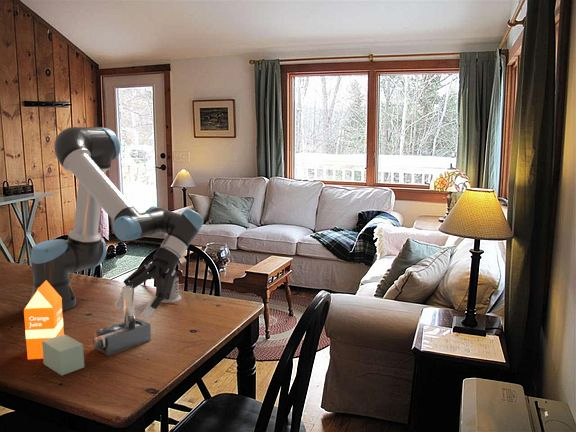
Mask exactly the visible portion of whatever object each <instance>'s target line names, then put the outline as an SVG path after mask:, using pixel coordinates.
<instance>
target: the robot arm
mask: <svg viewBox="0 0 576 432" xmlns="http://www.w3.org/2000/svg"><path fill="white" fill-rule="evenodd" d="M53 148H54V155H55V156H56V159H57V161H58V163H59V164H60V165H61V166H62V168H63V170H65V171H67V172H69V173H70V172H71V173H72V174H73V175H74V176H75V178H76V179H77V181H78V183H77V184H78V186H77V194H76V203H75V212H74V219H73V221H74V222H73V229H72V230H70V231H69V232H68V235H67V240H66V239H61V238H59V239H58V238H57V239H51V240H49V239H48V240H44V241H41V242H39V243H37V244H35V245H34V246H33V247H32V248H31V254H30V255H31V256H30V261H31V268H32V269H31V270H32V281H33V288H32V293H31V296H30V300H31V299H32V297H33V296H34V294H35V293H36V291H37V289H38V288H39V287H40V286H41V285H42V284H43V283H44V282H45V281H46V280H47V282H48V283H49V284H50V285H51V286H52V287H53V289H54V290H55V291H56V292H57V293H58V294H59V295H60V297H61V298H62V312H65V311H68V310H70V309H71V310H72V309H73V308H75V307H76V305H77V298H76V297H77V296H76V295H75V293H74V291H73V288H72V286H71V281H70V275H71V274H74V273H77V272H81V271H85V270H89V269H93V268H95V267H97V266H99V265H101V264H102V263H103V262H104V260H105V259H106V256H107V249H108V248H107V246H106V242H105V240H104V239H103V238H102V235H101V233H100V231H99V228H100V227H99V226H100V218H101V209H103V211H104V212H105V213H106V214H107V216H109V218H111V220H112V221H113V225H112V230H113V232H114V235H115V237H116V238H117V239H118V240H120V241H124V242H125V241H126V242H127V241H128V242H129V241H135V240H138V239H141V238H145V237H149V236H153V235H158V234H168V236H167V237H164V240H162V243H160V247H158V249H156V251H155V252H154V254H153V257H152V258H153V261H152V262H149V260H145V261H144V262H143V263H142V264H141V266H140V267H139V266H138V268H136V270H135V271H133V272H132V273H131V274H130V275H128V276H127V277H126V278H125V279H124V280H123V284H124V285H125V286H134V289H135V288H137V287H139V286H140V285H142V284H143V283H145V282H146V281H148V280H156V285H155V286H156V290H155V291H156V292H155V294H154V295H152V297H150V300H149V302H148V303H147V305H146V306H145V308H144V309H143V311H142V312H141V313H140V315H141V316H142V317H143V318H144V319H146V320H150V318H151V316H152V314H153V313H154V312H155V310H157V308H158V307H159V306H160V304H161V303H162V302H161V301H162V300H164V299H166V300H168V299H169V298H170V294H171V290H172V286H173V281H174V278H175V276H177V275H178V271H176V270H175V268H176V267H177V266H178V264H179V262H180V259H182V258H183V255H184V254H185V253H186V252H187V249H188V248H189V247H190V245H191V243H192V242H193V241H194V239H195V237H197V236H198V233H199V232H200V230H201V228H202V226H203V225H204V218H203V216H202V215H201V214H200V213H198V212H196V211H195V210H193V209H191V208H188V209H187V208H186V209H184V211H183V212H182V213H177V212H174V211H171V210H168V209H165V208H163V207H158V206H150V207H149V208H148V209H146V210H145V212H139V211H138V210H137V208H135V207H134V205H133V204H131V202H130V201H129V200H128V199H127V197H125V195H124V194H123V193H122V191H120V190H119V188H118V187H117V186H116V185H115V184H114V182H112V181H111V179H110V178H109V177H108V176H107V175H106V173H107V171H108V170H110V169H111V167H112V161H114V160H116V159H117V158H118V157H119V155H120V153H121V143H120V140H119V138H118V137H117V134H116V133H115V131H113V130H112V129H110V128H107V127H101V126H92V127H91V126H88V127H86V126H81V127H80V126H70V127H67V128H64V129H63V130H62V131H60V132H59V133H58V135H57V136H56V138H55V140H54V147H53ZM176 274H177V275H176ZM114 306H116V307H117V308H118V309H121V310H122V309H123V290H122V291H121V292H120V295H119V297H118V298H117V299H116V300H115V302H114Z"/></svg>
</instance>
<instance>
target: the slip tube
mask: <svg viewBox="0 0 576 432" xmlns="http://www.w3.org/2000/svg"><path fill="white" fill-rule="evenodd" d="M122 291H123V307H122V309H123V310H122V311H123V322H124V328H122V329H119V330H116V331H113V332H110V333H107V334H104V335H101V336H98V337H95V338H94V337H93V339H92V345H93V348H94V349H95V350H96V351H99V350H100V349H102V348H105V337H106V336H109V335H112V334H115V333H118V332H121V331H124V330H127V329H130V328H133V327H136V326H139V325H140V324H135V318H136V308H135V307H136V306H135V288H134V286H126V285H125V286H122Z"/></svg>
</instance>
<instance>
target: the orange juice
mask: <svg viewBox="0 0 576 432" xmlns="http://www.w3.org/2000/svg"><path fill="white" fill-rule="evenodd" d="M23 316H24V317H23V318H24V328H25V331H24V332H25V334H24V335H25V342H26V352H27V353H26V355H27V356H26V357H27V360H40V359H42V360H43V349H42V341H44V340H47V339H50V338H54V337H57V336H60V335H63V334H65V332H64V330H65V329H64V317H63V316H64V315H63V311H62V298H61V297H60V295H59V294H58V293H57V292H56V291H55V290H54V289H53V287H52V286H51V285H50V284H49V283H48V282H47V280H46V281H45V282H44V283H43V284H42V285H41V286H40V287H39V288H38V289H37V291H36V293H35V294H34V296H33V297H32V299H31V298H30V300H29V302H28V303H27V305H26V306H25V307H24V309H23Z"/></svg>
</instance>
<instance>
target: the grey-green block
mask: <svg viewBox="0 0 576 432" xmlns="http://www.w3.org/2000/svg"><path fill="white" fill-rule="evenodd" d="M42 349H43V359H42V360H43V362H42V363H43V365H45V366H46V367H48V368H49V369H51V370H52V371H53V372H55V373H57V374H58V375H60V376H64V375H68V374H70V373H72V372H75V371H78V370H81V369H83V368H85V355H84V353H85V352H84V344H83V343H82V342H80V341H78V340H76V339H74V338H73V337H71V336H69V335H67V334H65V333H64V334H63V335H60V336H57V337H54V338H50V339H47V340H44V341H42Z"/></svg>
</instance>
